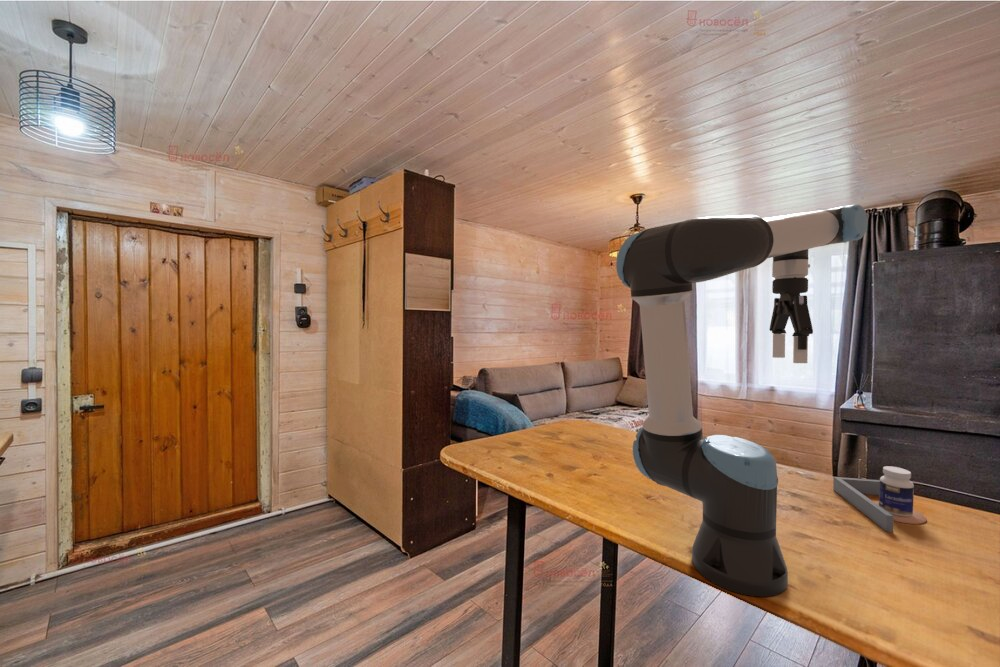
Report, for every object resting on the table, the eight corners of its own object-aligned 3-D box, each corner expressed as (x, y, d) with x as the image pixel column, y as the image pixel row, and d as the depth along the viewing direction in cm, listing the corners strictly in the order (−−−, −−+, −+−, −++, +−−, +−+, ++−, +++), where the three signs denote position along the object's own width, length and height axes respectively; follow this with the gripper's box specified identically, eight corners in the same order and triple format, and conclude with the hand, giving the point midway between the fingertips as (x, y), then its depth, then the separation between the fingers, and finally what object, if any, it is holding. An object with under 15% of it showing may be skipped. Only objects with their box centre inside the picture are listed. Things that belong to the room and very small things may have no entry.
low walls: (945, 537, 85) (946, 520, 85) (886, 531, 88) (886, 515, 88) (879, 493, 106) (880, 480, 106) (833, 489, 109) (833, 476, 109)
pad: (938, 526, 90) (938, 524, 90) (883, 521, 92) (883, 519, 92) (906, 505, 99) (906, 504, 99) (857, 501, 102) (857, 500, 102)
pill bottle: (883, 514, 94) (884, 471, 94) (875, 504, 99) (876, 463, 99) (917, 520, 92) (918, 476, 91) (906, 509, 97) (908, 467, 96)
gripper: (831, 272, 93) (830, 366, 94) (787, 281, 117) (786, 355, 118) (793, 274, 95) (792, 365, 96) (757, 282, 119) (756, 355, 120)
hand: (788, 360), depth 107 cm, fingers open, 13 cm apart
